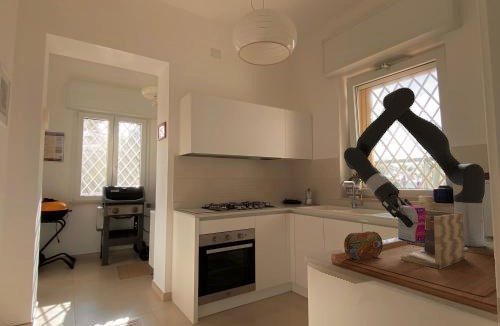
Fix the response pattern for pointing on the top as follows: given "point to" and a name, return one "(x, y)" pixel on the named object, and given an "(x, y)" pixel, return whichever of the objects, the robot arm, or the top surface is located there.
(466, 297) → the top surface
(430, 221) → the wooden bookend
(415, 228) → the supplement box
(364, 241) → the tin
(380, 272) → the top surface
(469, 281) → the top surface
